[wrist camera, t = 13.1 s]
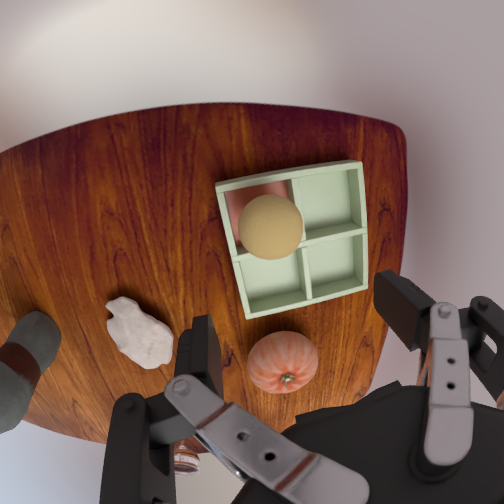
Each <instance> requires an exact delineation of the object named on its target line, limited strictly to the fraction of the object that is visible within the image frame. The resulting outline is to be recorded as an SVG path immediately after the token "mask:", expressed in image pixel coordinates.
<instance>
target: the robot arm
mask: <svg viewBox="0 0 504 504" xmlns="http://www.w3.org/2000/svg"><path fill="white" fill-rule="evenodd" d="M373 301H374V306H375V309H376V311H377V312H378V313H379V315H380V316H381V317H382V318H383V319H384V320H385V322H386V323H387V324H388V325H389V326H390V327H391V329H392V330H393V331H394V332H395V333H396V334H397V336H398V337H399V338H400V339H401V341H402V342H403V343H404V344H405V346H406V347H407V348H408V349H409V350H410V352H411V351H414V350H416V349H418V348H420V349H421V352H420V357H419V367H418V376H417V383H416V385H415V386H414V385H413V386H412V385H409V386H401V384H400V382H399V381H398V380H397V381H395V382H392V383H390V384H388V385H385V386H383V387H380V388H378V389H376V390H374V391H373V392H371V393H370V394H368V395H367V396H365V397H364V398H362V399H361V400H359V401H358V402H356V403H354V404H352V405H347V406H338V407H329V408H321V409H318V410H315V411H311V412H308V413H304V414H300V415H296V416H295V418H296V424H294V425H292V426H290V427H289V428H287V429H285V430H284V431H283V432H282V433H278V432H276V431H275V430H273V429H272V428H270V427H269V426H267V425H266V424H264V423H263V422H261V421H260V420H259V419H257V418H256V417H254V416H253V415H251V414H250V413H249V412H247V411H246V410H244V409H243V408H242V407H240V406H239V405H238V404H236V403H234V402H230V403H229V404H228V403H226V402H225V401H224V395H223V379H222V361H221V348H220V343H219V340H218V337H217V334H216V331H215V328H214V325H213V322H212V319H211V317H210V315H209V314H207V315H202V316H197V317H193V323H192V329H187V330H184V331H183V333H182V334H181V336H180V337H179V342H178V349H177V356H176V364H175V371H174V378H172V379H171V380H169V381H168V383H167V384H166V386H165V388H164V391H163V392H162V393H160V394H157V395H154V396H152V397H149V398H146V399H144V397H143V396H142V395H140V394H138V393H127V394H125V395H123V396H121V397H120V398H119V399H118V400H117V401H116V402H115V404H114V407H113V412H112V417H111V422H110V427H109V433H108V439H107V445H106V451H105V458H104V466H103V473H102V481H101V491H100V502H99V503H100V504H176V489H175V464H174V442H177V441H179V440H182V439H185V438H188V437H190V436H194V437H195V438H196V439H197V440H198V441H199V442H200V443H201V444H202V445H203V446H204V447H205V448H206V449H207V450H208V451H210V452H211V453H212V454H213V455H214V456H215V457H216V458H217V459H218V460H219V461H220V462H221V463H222V464H223V465H224V466H225V467H226V468H227V469H228V470H229V471H230V472H231V473H233V474H234V475H235V476H236V477H237V478H238V479H240V480H241V481H242V482H243V483H245V485H244V486H243V488H242V489H241V490H240V492H239V493H238V494H237V496H236V497H235V499H234V500H233V501H232V503H231V504H504V310H503V309H502V308H500V307H499V306H498V305H497V304H496V303H495V302H493V301H492V300H491V299H489V298H487V297H484V296H476V297H474V298H473V299H472V300H471V303H470V307H469V308H463V309H457V308H456V307H455V306H454V305H452V304H450V303H447V302H439V303H436V302H435V301H434V300H433V299H432V298H431V297H429V296H428V295H427V294H426V293H425V292H424V291H422V290H420V288H419V287H418V286H415V284H414V283H413V282H411V281H410V280H409V279H407V278H404V277H402V276H398V275H396V274H395V273H394V272H393V271H392V270H390V269H388V270H385V271H382V272H378V273H376V274H375V276H374V299H373ZM486 335H488V336H489V337H490V338H491V339H492V340H493V341H494V342H495V343H496V346H497V353H496V354H495V353H494V352H493V351H492V350H491V349H490V347H489V346H488V345H487V344H486V343H485V342H484V340H485V337H486ZM470 368H471V369H472V371H473V372H474V373H475V375H476V376H477V377H478V378H479V380H480V381H481V382H482V384H483V385H484V386H485V388H486V389H487V390H488V392H489V393H490V394H491V396H492V397H493V398H494V400H495V401H496V403H497V408H493V407H489V406H486V405H482V404H479V403H475V402H471V401H470Z"/></svg>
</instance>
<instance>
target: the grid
mask: <svg viewBox="0 0 504 504" xmlns="http://www.w3.org/2000/svg"><path fill="white" fill-rule="evenodd" d="M215 189H216V193H217V198H218V203H219V207H220V212H221V216H222V221H223V225H224V229H225V234H226V238H227V242H228V247H229V251H230V255H231V259H232V264H233V268H234V272H235V276H236V280H237V285H238V289H239V293H240V297H241V301H242V305H243V309H244V313H245V317H246V319H251V318H256V317H260V316H265V315H269V314H273V313H278V312H282V311H286V310H290V309H294V308H298V307H302V306H306V305H310V304H314V303H318V302H321V301H325V300H329V299H332V298H336V297H340V296H343V295H347V294H350V293H354V292H357V291H361V290H364V289H367V288H368V236H367V215H366V199H365V187H364V176H363V167H362V162H361V161H355V160H342V161H334V162H327V163H320V164H313V165H306V166H300V167H294V168H288V169H282V170H276V171H271V172H265V173H260V174H255V175H250V176H245V177H240V178H235V179H230V180H225V181H221V182H216V183H215ZM269 194H273V195H279V196H282V197H284V198H287V199H288V200H290V201H291V202H293V203H294V204H295V206H296V207H297V208H298V210H299V211H300V213H301V216H302V219H303V235H302V239H301V242H300V244H299V246H298V247H297V249H296V250H295V251H294V252H293V253H292V254H290V255H288V256H286V257H284V258H281V259H276V260H264V259H260V258H258V257H255V256H254V255H252V254H250V253H249V252H248V251H247V250H246V249H245V247H244V246H243V244H242V242H241V240H240V238H239V233H238V221H239V217H240V214H241V212H242V210H243V209H244V207H245V206H246V205H247V204H248V203H249V202H250V201H252V200H253V199H255V198H257V197H259V196H262V195H269Z"/></svg>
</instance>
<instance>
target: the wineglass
mask: <svg viewBox="0 0 504 504" xmlns="http://www.w3.org/2000/svg"><path fill="white" fill-rule="evenodd" d="M199 462H200V460H199V458H198V456H197V454H196V453H194V452H193V451H192V450H191V449H189V448H186V447H185V446H184V439H182V440H181V445H180V446H179V447H174V464H175V474H176V475H182V476H192V475H196V474H198V473H199V472H200V471H199V469H198V467H199V465H200V463H199Z"/></svg>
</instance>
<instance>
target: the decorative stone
mask: <svg viewBox="0 0 504 504" xmlns="http://www.w3.org/2000/svg"><path fill="white" fill-rule="evenodd" d="M106 308H107V309H108V310H109V311H111V312H112V313H113V315H114V317H113V318H112V319H108V321H107V330H108V332H109V334H110V335H111V337H112V339H113V340H114V341H115V343H116V344H117V348H118V349H119V351H120V352H123V353H124V354H126V355H127V356H128V357H129V358H130V359H131V360H133V361H135V362H136V363H138V364H139V365H140V366H142V367H143V368H145V369H153V368H157V367H158V366H159V365H161V364H168V363H169V361H170V360H171V358H172V349H173V347H172V345H173V339H174V336H173V334H172V333H171V330H170V328H169V327H168V326H166V325H165V324H164V323H162V322H161V321H158V320H156V319H155V318H154V317H153V316H151V315H148V314H146V313H144V312H142V311H141V309H140V308H139V306H138V304H137V302H136V301H134V300H132V299H130V298H126V297H119V298H118V299H116V300H112V301H109V302H108V303H107V304H106Z"/></svg>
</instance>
